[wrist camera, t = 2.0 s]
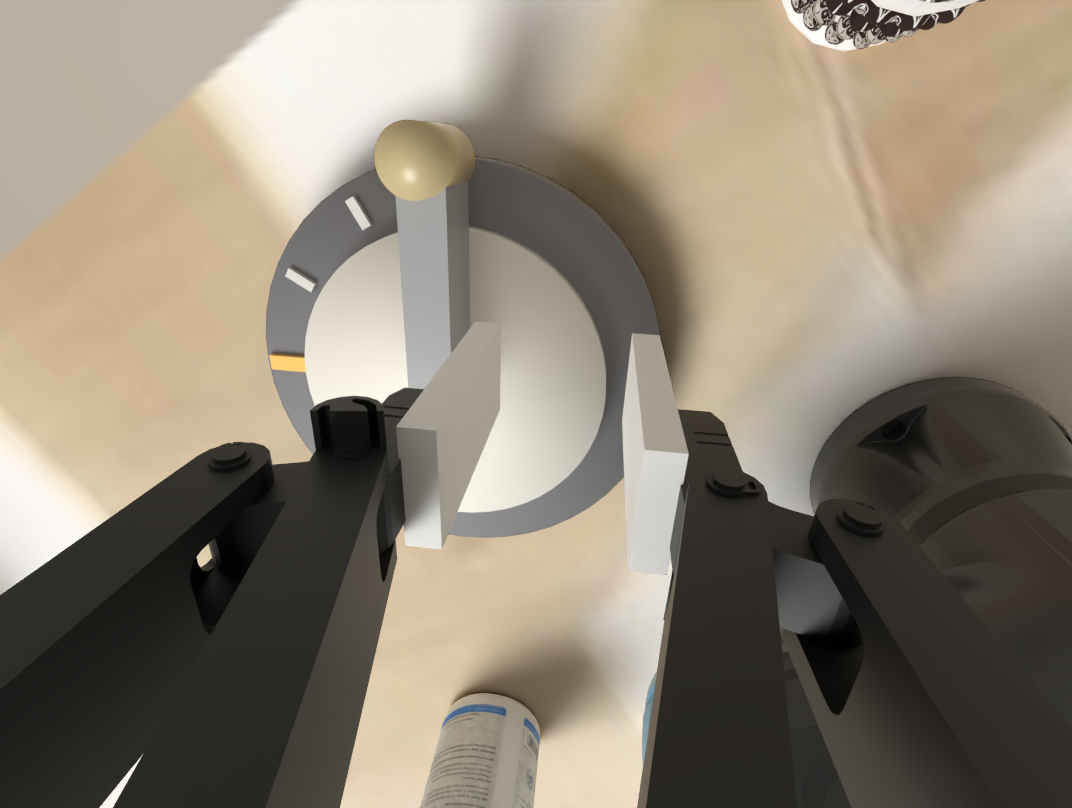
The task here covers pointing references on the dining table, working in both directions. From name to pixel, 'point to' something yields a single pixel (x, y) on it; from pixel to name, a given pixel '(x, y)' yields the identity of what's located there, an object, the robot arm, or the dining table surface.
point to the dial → (461, 320)
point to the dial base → (523, 215)
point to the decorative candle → (868, 19)
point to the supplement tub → (484, 755)
